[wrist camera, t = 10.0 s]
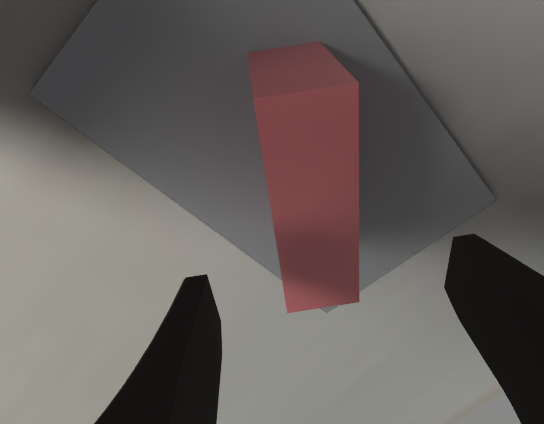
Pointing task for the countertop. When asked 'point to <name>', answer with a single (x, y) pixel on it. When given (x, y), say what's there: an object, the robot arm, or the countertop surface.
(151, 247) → the countertop surface
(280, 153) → the box
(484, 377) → the countertop surface
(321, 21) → the mat
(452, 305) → the robot arm
